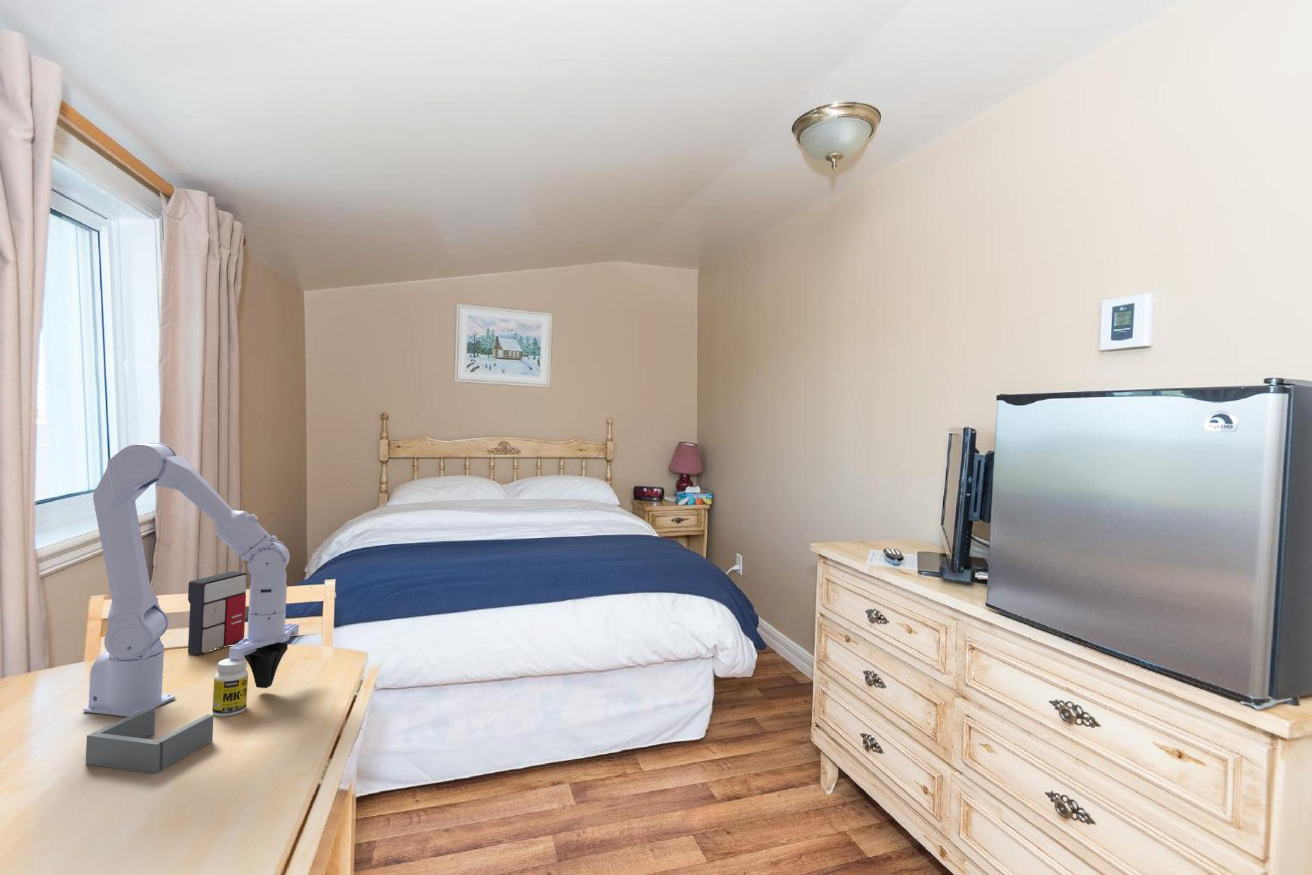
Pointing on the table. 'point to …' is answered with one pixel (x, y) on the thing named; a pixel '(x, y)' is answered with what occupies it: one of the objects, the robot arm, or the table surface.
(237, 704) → the supplement bottle
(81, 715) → the table surface
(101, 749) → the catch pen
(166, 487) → the robot arm
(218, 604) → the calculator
